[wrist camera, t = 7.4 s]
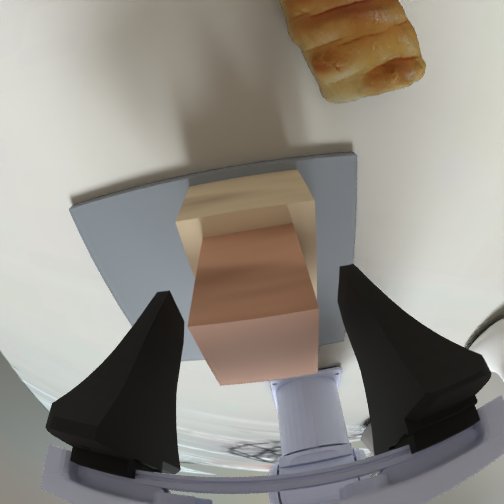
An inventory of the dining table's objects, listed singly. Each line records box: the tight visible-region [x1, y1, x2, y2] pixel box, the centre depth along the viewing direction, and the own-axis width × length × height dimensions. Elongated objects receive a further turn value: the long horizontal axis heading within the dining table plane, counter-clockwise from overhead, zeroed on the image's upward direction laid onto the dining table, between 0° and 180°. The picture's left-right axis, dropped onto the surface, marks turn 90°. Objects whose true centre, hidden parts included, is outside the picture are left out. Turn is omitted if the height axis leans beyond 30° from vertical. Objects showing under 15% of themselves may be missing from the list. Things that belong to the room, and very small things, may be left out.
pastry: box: [279, 0, 426, 103], centre depth 9 cm, size 9×7×4 cm
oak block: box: [175, 169, 317, 299], centre depth 15 cm, size 6×6×4 cm
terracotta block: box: [188, 223, 319, 385], centre depth 11 cm, size 4×4×5 cm
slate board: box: [69, 152, 357, 361], centre depth 20 cm, size 17×18×1 cm
